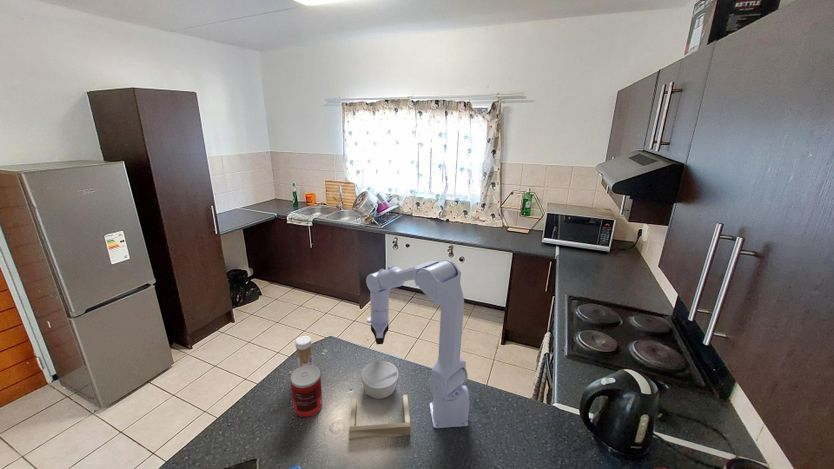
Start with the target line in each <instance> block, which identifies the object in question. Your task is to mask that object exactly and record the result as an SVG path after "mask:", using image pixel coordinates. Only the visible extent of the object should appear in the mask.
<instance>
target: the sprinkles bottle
mask: <svg viewBox="0 0 834 469" xmlns="http://www.w3.org/2000/svg"><path fill="white" fill-rule="evenodd" d="M294 342H295V349H296V358H297V360H296V361H297V366H298V367H297V368H299V367H301V366H305V365H313V366H314V359H313V351H312V338H311V337H310V336H308V335H301V336H299V337H297V338H296V339H295V341H294Z"/></svg>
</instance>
